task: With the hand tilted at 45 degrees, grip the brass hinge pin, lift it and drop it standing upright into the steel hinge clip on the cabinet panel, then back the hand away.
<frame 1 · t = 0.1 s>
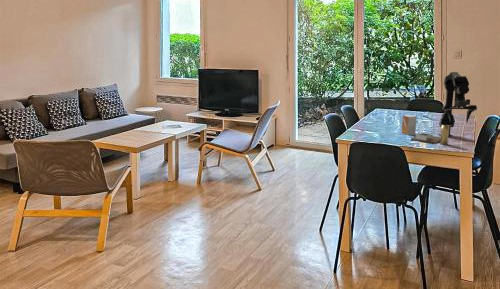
hand: (458, 121, 278), 15 cm above the table, tool pointing down, fingers open, 9 cm apart
small box: (408, 134, 321), on the table
hinge pin: (443, 144, 287), on the table
cabinet panel: (428, 140, 299), on the table
hinge clip: (423, 140, 298), resting on cabinet panel
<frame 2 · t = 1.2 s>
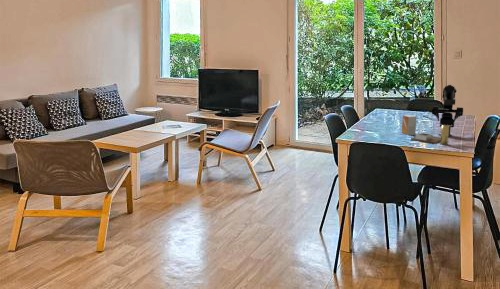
hand: (446, 121, 291), 13 cm above the table, tool tilted 45°, fingers open, 9 cm apart
nothing on the table moved.
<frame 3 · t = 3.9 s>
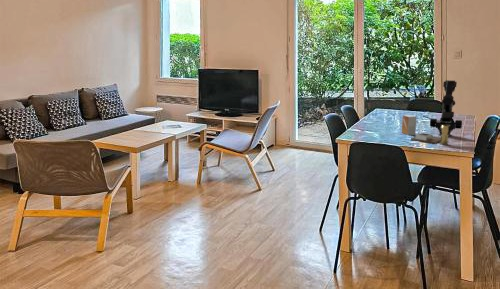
hand: (444, 134, 284), 7 cm above the table, tool tilted 45°, fingers closed on hinge pin, 4 cm apart
hinge pin: (443, 144, 287), on the table, touching gripper
everything else where it was.
when the fingers open (9 cm above the table, at t = 7.9 s): hinge pin stays where it is, resting on cabinet panel.
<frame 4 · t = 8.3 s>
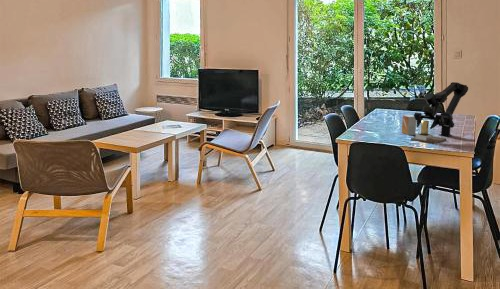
hand: (423, 127, 295), 9 cm above the table, tool tilted 45°, fingers open, 9 cm apart
hinge pin: (423, 138, 297), point 1 cm above the table, touching cabinet panel
everything else where it was.
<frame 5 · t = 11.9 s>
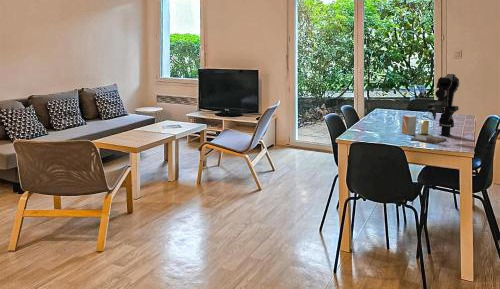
hand: (441, 120, 297), 13 cm above the table, tool pointing down, fingers open, 9 cm apart
nothing on the table moved.
at the end: hinge pin 0.0 cm off-centre on the hinge clip, point 1.2 cm above the hinge clip's base; hinge pin tilted 0°; the gripper is holding nothing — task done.
